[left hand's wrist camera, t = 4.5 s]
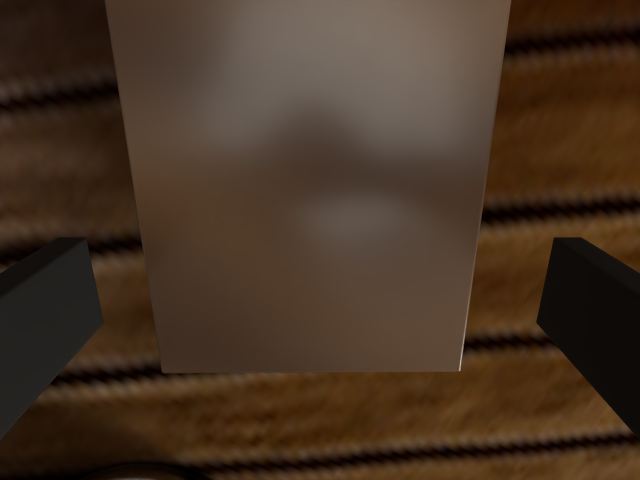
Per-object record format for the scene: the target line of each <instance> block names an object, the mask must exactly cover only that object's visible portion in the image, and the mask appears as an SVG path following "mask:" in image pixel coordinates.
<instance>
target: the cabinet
mask: <svg viewBox="0 0 640 480" xmlns="http://www.w3.org/2000/svg"><path fill="white" fill-rule="evenodd" d="M510 4H511V0H105V6H106V13H107V19H108V26H109V32H110V39H111V45H112V52H113V58H114V65H115V71H116V77H117V84H118V90H119V97H120V103H121V110H122V116H123V123H124V129H125V135H126V142H127V148H128V155H129V161H130V168H131V174H132V181H133V187H134V194H135V200H136V206H137V213H138V219H139V226H140V232H141V239H142V245H143V252H144V258H145V265H146V271H147V277H148V284H149V290H150V297H151V303H152V310H153V316H154V323H155V329H156V336H157V342H158V348H159V355H160V361H161V368H162V372H163V373H260V372H443V371H460V368H461V361H462V354H463V347H464V339H465V332H466V325H467V317H468V310H469V303H470V296H471V288H472V281H473V274H474V266H475V259H476V252H477V245H478V237H479V230H480V223H481V215H482V208H483V201H484V194H485V186H486V179H487V172H488V164H489V157H490V150H491V143H492V135H493V128H494V121H495V114H496V106H497V99H498V92H499V84H500V77H501V70H502V63H503V55H504V48H505V41H506V33H507V26H508V19H509V12H510Z"/></svg>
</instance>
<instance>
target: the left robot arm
mask: <svg viewBox="0 0 640 480" xmlns="http://www.w3.org/2000/svg"><path fill="white" fill-rule="evenodd" d="M103 323H104V322H103V317H102V312H101V308H100V303H99V298H98V293H97V288H96V283H95V279H94V274H93V269H92V264H91V259H90V255H89V250H88V245H87V240H86V238H57V239H55V240H54V241H52V242H51V243H49V244H47V245H46V246H44V247H42V248H41V249H39V250H38V251H36V252H34V253H33V254H31V255H29V256H28V257H26V258H25V259H23V260H21V261H20V262H18V263H16V264H15V265H13V266H11V267H10V268H8V269H7V270H5V271H3V272H2V273H0V440H1V439H2V438H3V436H4V435H5V434H6V433H7V432H8V431H9V430H10V428H11V427H12V426H13V425H14V424H15V423H16V422H17V420H18V419H19V418H20V417H21V416H22V415H23V414H24V413H25V411H26V410H27V409H28V408H29V407H30V406H31V405H32V403H33V402H34V401H35V400H36V399H37V398H38V397H39V396H40V394H41V393H42V392H43V391H44V390H45V389H46V388H47V386H48V385H49V384H50V383H51V382H52V381H53V380H54V378H55V377H56V376H57V375H58V374H59V373H60V372H61V371H62V369H63V368H64V367H65V366H66V365H67V364H68V363H69V361H70V360H71V359H72V358H73V357H74V356H75V355H76V353H77V352H78V351H79V350H80V349H81V348H82V347H83V346H84V344H85V343H86V342H87V341H88V340H89V339H90V338H91V336H92V335H93V334H94V333H95V332H96V331H97V330H98V329H99V327H100V326H101V325H102V324H103ZM536 323H537V324H538V325H539V326H540V327H541V329H542V330H543V331H544V332H545V333H546V334H547V335H548V336H549V338H550V339H551V340H552V341H553V342H554V343H555V344H556V346H557V347H558V348H559V349H560V350H561V351H562V352H563V353H564V355H565V356H566V357H567V358H568V359H569V360H570V361H571V363H572V364H573V365H574V366H575V367H576V368H577V369H578V371H579V372H580V373H581V374H582V375H583V376H584V377H585V378H586V380H587V381H588V382H589V383H590V384H591V385H592V386H593V388H594V389H595V390H596V391H597V392H598V393H599V394H600V396H601V397H602V398H603V399H604V400H605V401H606V402H607V403H608V405H609V406H610V407H611V408H612V409H613V410H614V411H615V413H616V414H617V415H618V416H619V417H620V418H621V419H622V420H623V422H624V423H625V424H626V425H627V426H628V427H629V428H630V430H631V431H632V432H633V433H634V434H635V435H636V436H637V438H638V439H639V440H640V273H638V272H637V271H635V270H633V269H632V268H630V267H629V266H627V265H625V264H624V263H622V262H620V261H619V260H617V259H615V258H614V257H612V256H611V255H609V254H607V253H606V252H604V251H602V250H601V249H599V248H598V247H596V246H594V245H593V244H591V243H589V242H588V241H586V240H585V239H583V238H554V240H553V245H552V250H551V255H550V259H549V264H548V269H547V274H546V279H545V283H544V288H543V293H542V298H541V303H540V308H539V312H538V317H537V322H536ZM79 480H207V479H205V478H202V477H200V476H198V475H196V474H193V473H190V472H188V471H184V470H181V469H177V468H173V467H168V466H162V465H154V464H126V465H118V466H113V467H108V468H104V469H101V470H98V471H95V472H93V473H90V474H88V475H86V476H84V477H82V478H81V479H79Z"/></svg>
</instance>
